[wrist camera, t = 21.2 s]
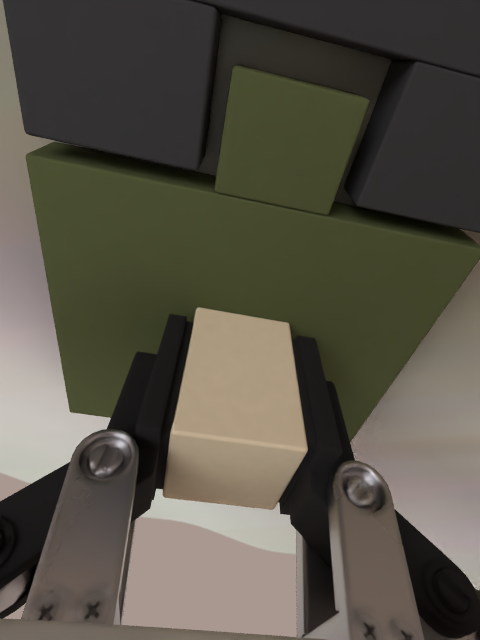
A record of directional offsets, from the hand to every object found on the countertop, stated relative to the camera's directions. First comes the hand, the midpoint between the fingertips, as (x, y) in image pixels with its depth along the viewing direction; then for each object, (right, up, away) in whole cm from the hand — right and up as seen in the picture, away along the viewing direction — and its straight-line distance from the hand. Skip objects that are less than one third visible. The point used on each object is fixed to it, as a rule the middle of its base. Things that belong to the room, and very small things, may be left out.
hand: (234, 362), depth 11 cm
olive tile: (0, +2, +1) cm, 3 cm away
